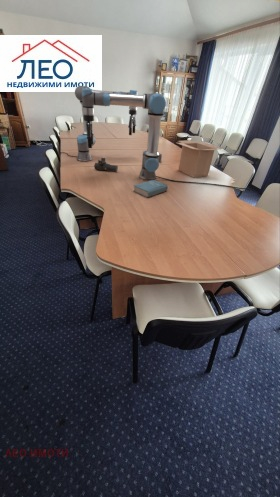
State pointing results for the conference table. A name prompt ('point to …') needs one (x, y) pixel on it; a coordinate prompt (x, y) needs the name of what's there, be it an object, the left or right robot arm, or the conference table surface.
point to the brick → (160, 157)
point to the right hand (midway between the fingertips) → (90, 146)
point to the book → (150, 188)
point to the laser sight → (105, 166)
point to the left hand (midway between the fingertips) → (132, 134)
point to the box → (196, 158)
